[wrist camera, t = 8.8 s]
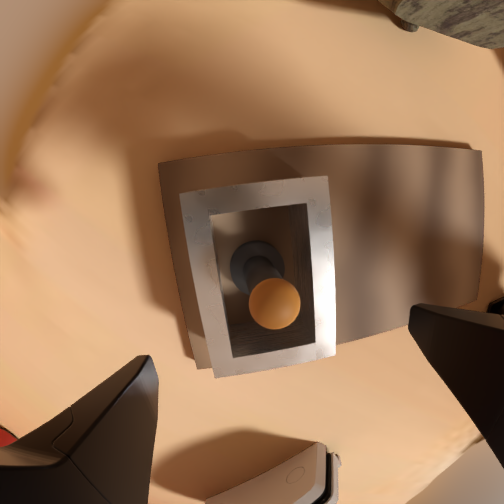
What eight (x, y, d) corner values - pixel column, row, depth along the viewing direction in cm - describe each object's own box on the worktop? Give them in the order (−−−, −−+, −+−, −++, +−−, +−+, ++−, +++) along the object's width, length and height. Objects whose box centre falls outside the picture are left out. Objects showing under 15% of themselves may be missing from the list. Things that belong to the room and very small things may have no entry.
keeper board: (473, 150, 19) (542, 151, 12) (470, 296, 23) (527, 327, 15) (160, 164, 17) (120, 150, 9) (197, 361, 20) (193, 443, 13)
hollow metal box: (303, 176, 17) (327, 175, 14) (314, 325, 20) (335, 355, 16) (187, 191, 17) (179, 193, 13) (214, 342, 19) (214, 378, 15)
